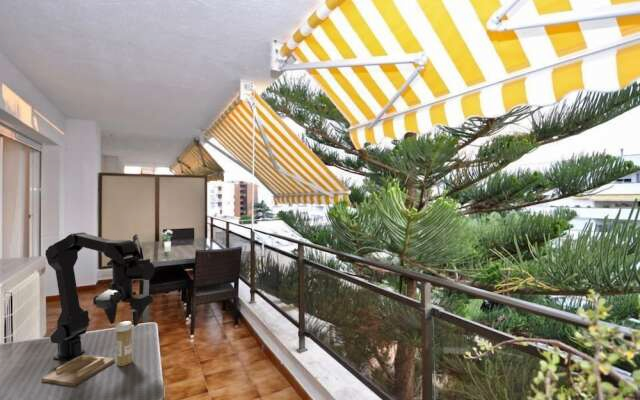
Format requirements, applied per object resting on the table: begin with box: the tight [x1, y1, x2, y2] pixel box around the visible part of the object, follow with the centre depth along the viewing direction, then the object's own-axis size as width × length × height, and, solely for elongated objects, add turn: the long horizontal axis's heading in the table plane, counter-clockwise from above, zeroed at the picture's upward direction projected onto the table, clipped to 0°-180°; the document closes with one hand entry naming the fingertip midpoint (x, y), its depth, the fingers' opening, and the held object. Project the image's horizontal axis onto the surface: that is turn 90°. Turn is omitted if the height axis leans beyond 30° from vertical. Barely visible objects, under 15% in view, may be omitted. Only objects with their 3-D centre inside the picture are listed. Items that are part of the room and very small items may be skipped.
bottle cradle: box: [41, 354, 115, 387], centre depth 100 cm, size 12×14×2 cm
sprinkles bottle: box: [115, 320, 133, 367], centre depth 104 cm, size 5×5×14 cm
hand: (123, 324), depth 104 cm, fingers open, 9 cm apart
